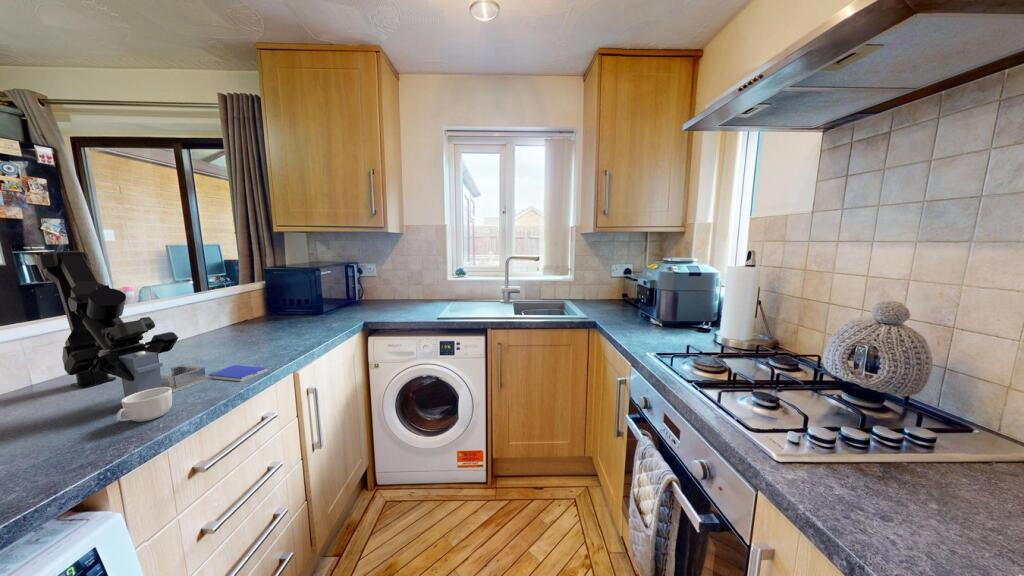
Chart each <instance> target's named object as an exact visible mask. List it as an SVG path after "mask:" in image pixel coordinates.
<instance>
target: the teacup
mask: <svg viewBox="0 0 1024 576" xmlns="http://www.w3.org/2000/svg"><path fill="white" fill-rule="evenodd" d="M121 405H122V408H120V409H119V410H118V412H117V413H116V419H117V421H121V422H122V421H123V422H124V421H125V422H126V421H133V422H139V423H141V422H148V421H153V420H156V419H158V418H160V417H162V416H164V415H165V414H166V413H168V412H169V411H170V410H171V407H172V405H173V393H172V389H171V388H170V387H160V388H153V389H149V390H144V391H141V392H137V393H134V394H132V395H129V396H127V397H125V396H124V397H123V398H122V399H121ZM123 412H124V415H125V416H126V418H122V416H121V414H122V413H123Z"/></svg>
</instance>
